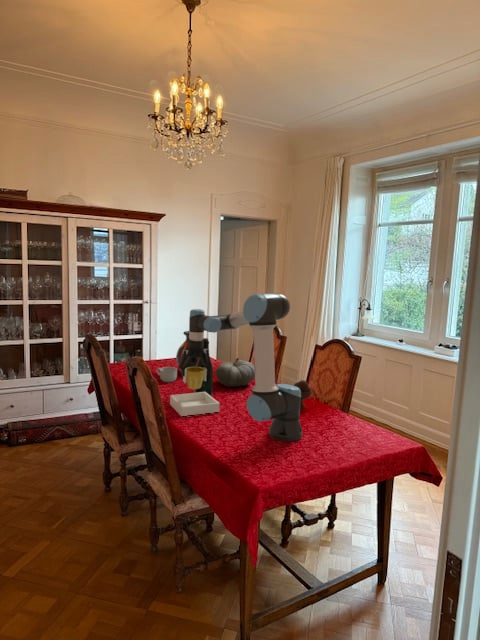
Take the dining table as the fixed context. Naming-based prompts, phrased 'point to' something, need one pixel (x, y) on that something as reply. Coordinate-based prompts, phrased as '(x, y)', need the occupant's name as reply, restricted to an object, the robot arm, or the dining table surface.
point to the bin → (194, 403)
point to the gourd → (235, 373)
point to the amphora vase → (185, 347)
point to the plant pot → (195, 377)
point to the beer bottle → (208, 384)
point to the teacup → (167, 373)
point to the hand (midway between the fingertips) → (194, 381)
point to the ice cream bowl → (303, 391)
